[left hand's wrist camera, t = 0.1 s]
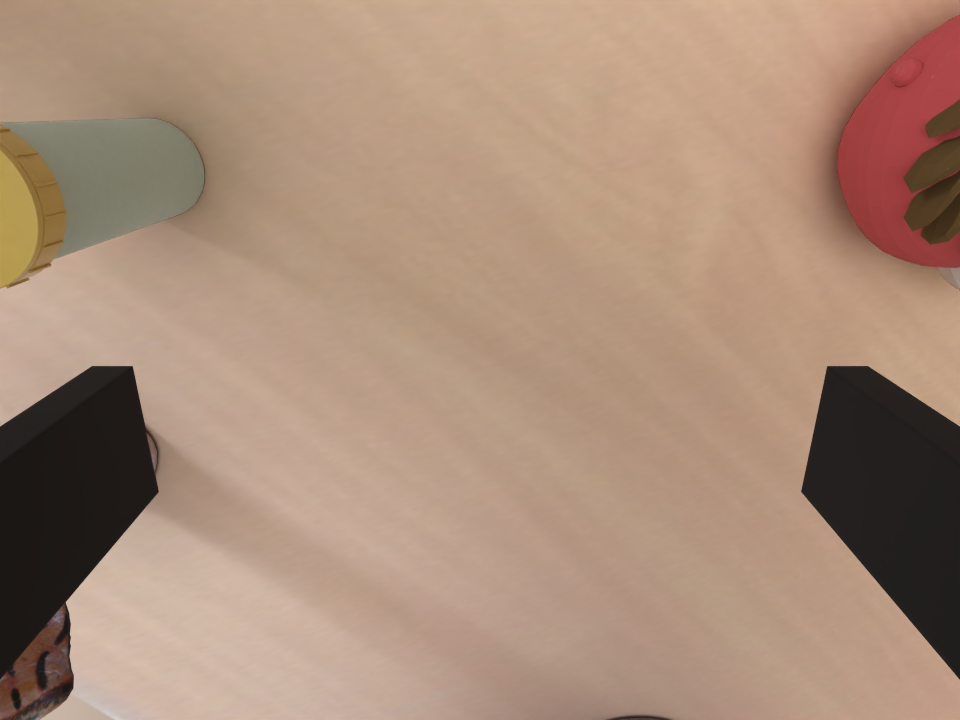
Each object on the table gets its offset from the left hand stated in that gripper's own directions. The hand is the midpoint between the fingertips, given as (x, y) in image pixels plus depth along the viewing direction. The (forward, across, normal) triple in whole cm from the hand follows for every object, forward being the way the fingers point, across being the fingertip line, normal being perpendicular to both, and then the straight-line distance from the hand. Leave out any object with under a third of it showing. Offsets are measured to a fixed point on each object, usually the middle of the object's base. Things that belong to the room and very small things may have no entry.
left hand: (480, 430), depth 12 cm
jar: (+28, +19, -3) cm, 34 cm away
